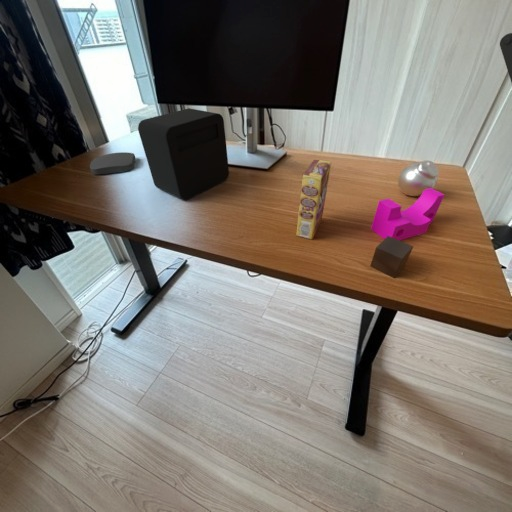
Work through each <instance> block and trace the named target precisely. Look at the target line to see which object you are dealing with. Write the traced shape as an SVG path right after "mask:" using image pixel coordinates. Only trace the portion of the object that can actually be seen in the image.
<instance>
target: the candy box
mask: <svg viewBox="0 0 512 512" xmlns="http://www.w3.org/2000/svg"><path fill="white" fill-rule="evenodd" d="M331 167H332V161H329V160H321V159H313V160H312V161H311V163H310V164H309V166H308V168H306V170H305V172H304V173H302V181H301V189H300V196H299V198H300V199H299V207H298V215H297V225H296V233H295V234H296V235H295V236H296V237H299V238H304V239H307V240H313V239H314V236H315V234H316V232H317V230H318V228H319V226H320V225H321V222H322V221H323V214H324V208H325V202H326V198H327V197H326V196H327V192H328V185H329V179H330V172H331V169H332V168H331Z"/></svg>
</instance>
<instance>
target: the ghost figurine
mask: <svg viewBox="0 0 512 512" xmlns="http://www.w3.org/2000/svg"><path fill="white" fill-rule="evenodd" d="M439 173H440V172H439V169H438V166H437V165H436V163H434V161H433V160H427V159H426V160H422V161H419V162H415V163H412V164H409V165H407V166H406V167H404V168H403V169H402V171H400V173H399V175H398V178H397V184H398V185H397V186H398V188H399V190H400V192H402V193H403V194H405V195H406V196H410V197H420V196H421V195H422V193H423V191H424V190H425V189H429V188H432V189H435V187H436V186H437V185H436V184H437V182H438V176H439Z"/></svg>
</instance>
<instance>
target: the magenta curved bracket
mask: <svg viewBox="0 0 512 512" xmlns="http://www.w3.org/2000/svg"><path fill="white" fill-rule="evenodd" d="M444 197H445V193H442V192H441V191H438V190H437V189H435V188H433V189H432V188H429V189H425V190H424V191H423V193H422V195H420V196H418V198H417V200H416V201H415V202H414V203H413V204H412V205H410V206H409V207H408V208H406V209H403V210H402V205H400V204H399V203H397V202H395V201H394V200H393V199H391V198H384V199H381V200H379V201H378V203H377V207H376V210H375V213H374V217H373V221H372V224H371V227H370V230H372V231H373V232H374V233H375V234H376V235H378V236H379V237H380V238H382V240H384V239H385V238H386V237H387V236H390V237H392V238H394V239H397V240H399V241H403V240H405V239H409V238H412V237H416V236H419V235H422V234H426V232H427V231H428V228H429V226H430V224H431V223H433V221H434V219H435V218H436V215H437V213H438V210H439V208H440V206H441V204H442V202H443V200H444Z"/></svg>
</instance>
